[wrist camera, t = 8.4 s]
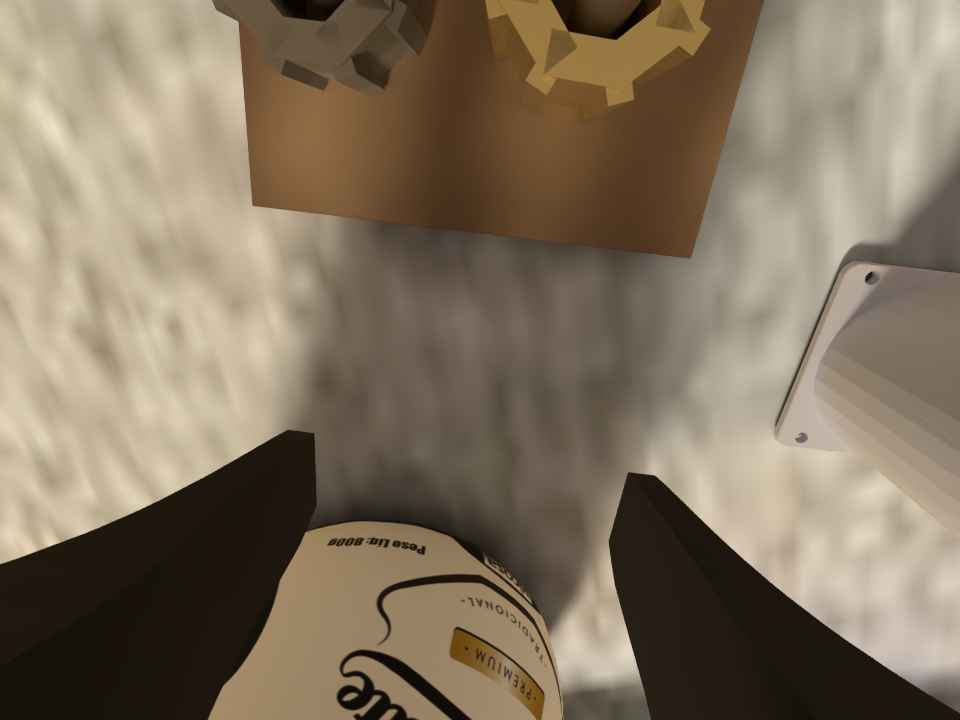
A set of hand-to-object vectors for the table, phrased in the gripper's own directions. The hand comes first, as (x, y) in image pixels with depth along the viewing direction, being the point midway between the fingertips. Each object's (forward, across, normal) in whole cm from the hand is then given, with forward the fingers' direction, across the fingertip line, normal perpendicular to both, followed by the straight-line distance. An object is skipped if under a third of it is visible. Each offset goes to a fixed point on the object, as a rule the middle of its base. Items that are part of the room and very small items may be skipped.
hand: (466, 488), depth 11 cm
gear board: (+10, +1, -10) cm, 14 cm away
